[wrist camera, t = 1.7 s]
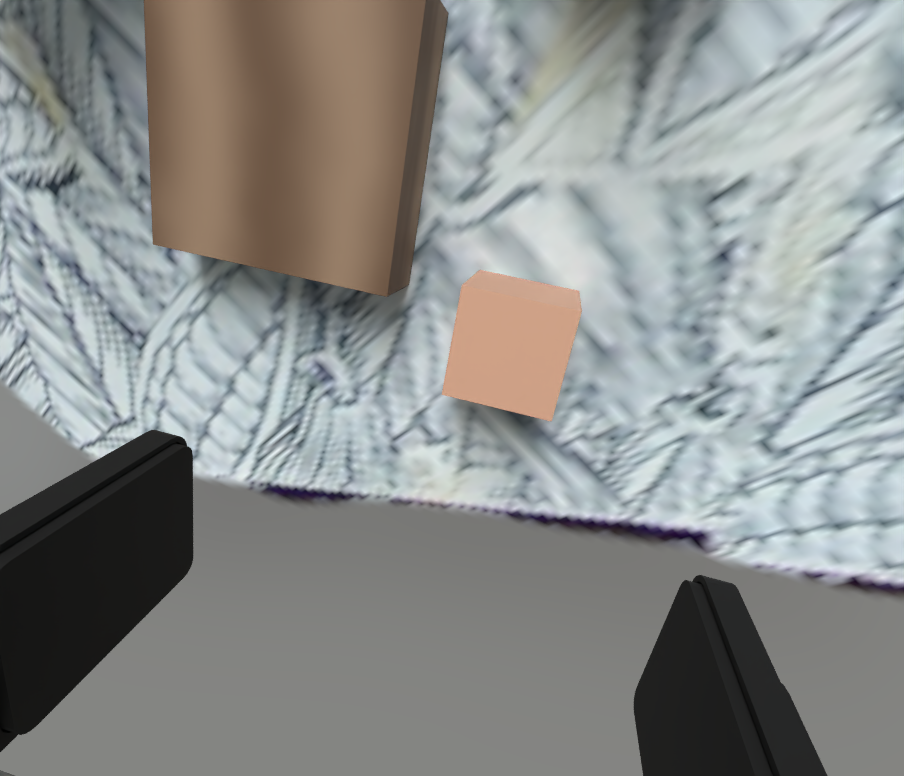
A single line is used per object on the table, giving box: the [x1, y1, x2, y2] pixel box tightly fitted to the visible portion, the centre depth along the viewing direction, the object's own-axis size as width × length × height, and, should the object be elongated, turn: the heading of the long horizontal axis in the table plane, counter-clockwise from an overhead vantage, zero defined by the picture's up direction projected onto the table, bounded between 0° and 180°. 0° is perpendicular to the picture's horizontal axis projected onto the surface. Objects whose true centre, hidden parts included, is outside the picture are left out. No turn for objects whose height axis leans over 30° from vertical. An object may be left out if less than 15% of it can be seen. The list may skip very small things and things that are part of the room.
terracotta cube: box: [442, 270, 582, 421], centre depth 25 cm, size 5×5×5 cm
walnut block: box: [144, 0, 448, 297], centre depth 24 cm, size 12×12×4 cm
